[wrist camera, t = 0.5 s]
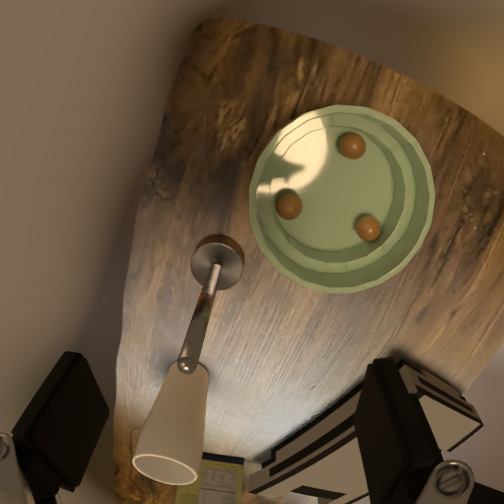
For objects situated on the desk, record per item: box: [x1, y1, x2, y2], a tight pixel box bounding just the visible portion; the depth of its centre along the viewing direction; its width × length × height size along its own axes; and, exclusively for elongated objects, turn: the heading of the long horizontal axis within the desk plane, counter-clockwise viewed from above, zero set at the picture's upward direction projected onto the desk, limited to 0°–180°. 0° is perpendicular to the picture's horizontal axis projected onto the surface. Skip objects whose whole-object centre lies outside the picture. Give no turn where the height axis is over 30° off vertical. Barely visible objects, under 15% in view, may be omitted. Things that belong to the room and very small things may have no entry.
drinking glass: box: [132, 362, 209, 485], centre depth 31 cm, size 7×7×15 cm
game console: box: [248, 359, 484, 504], centre depth 39 cm, size 21×32×8 cm, turn 145°
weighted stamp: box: [177, 236, 244, 374], centre depth 25 cm, size 5×5×16 cm
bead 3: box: [356, 215, 381, 241], centre depth 28 cm, size 2×2×2 cm
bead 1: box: [275, 193, 303, 220], centre depth 28 cm, size 2×2×2 cm
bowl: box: [249, 104, 435, 294], centre depth 26 cm, size 15×15×6 cm
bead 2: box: [339, 133, 366, 160], centre depth 26 cm, size 2×2×2 cm
